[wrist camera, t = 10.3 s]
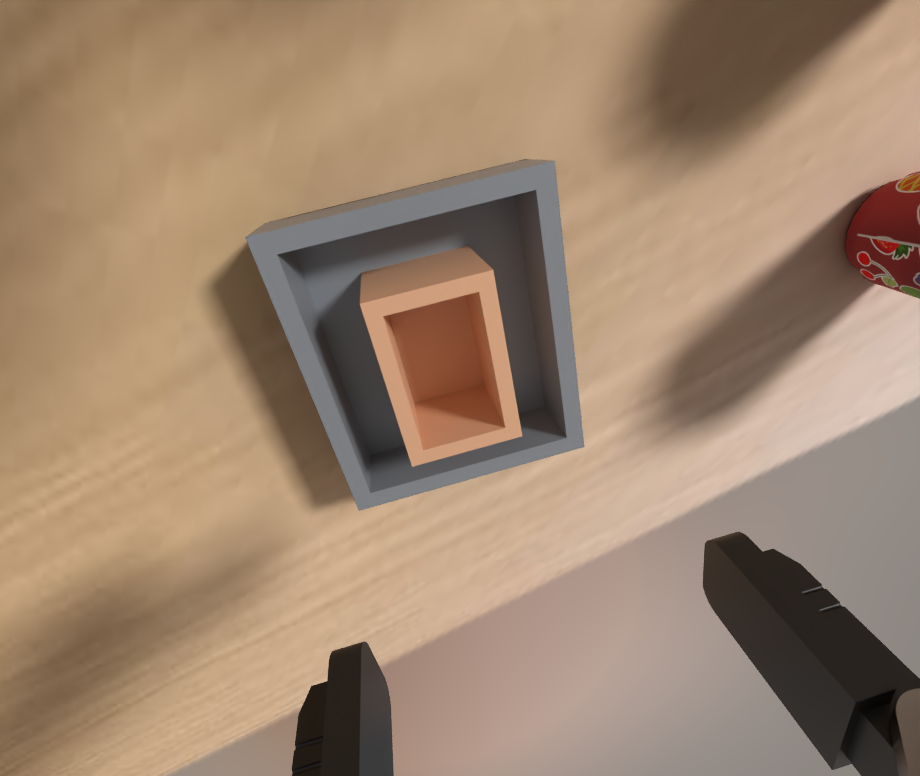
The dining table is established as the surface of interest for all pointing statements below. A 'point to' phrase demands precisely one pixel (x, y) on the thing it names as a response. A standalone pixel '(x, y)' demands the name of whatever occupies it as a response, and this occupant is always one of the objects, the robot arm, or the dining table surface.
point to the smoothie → (889, 236)
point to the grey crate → (406, 238)
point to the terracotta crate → (442, 352)
